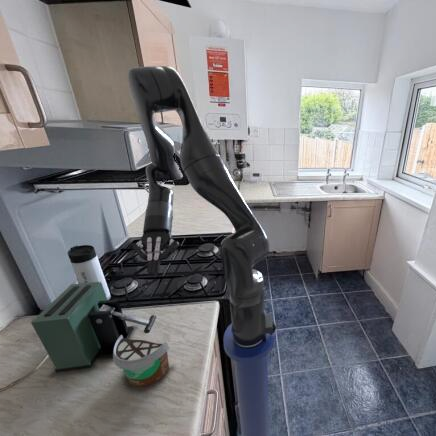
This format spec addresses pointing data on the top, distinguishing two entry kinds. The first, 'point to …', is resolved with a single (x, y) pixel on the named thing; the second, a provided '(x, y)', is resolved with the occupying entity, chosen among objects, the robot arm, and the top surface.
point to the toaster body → (71, 327)
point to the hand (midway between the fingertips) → (152, 274)
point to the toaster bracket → (108, 328)
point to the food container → (141, 360)
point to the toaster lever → (130, 318)
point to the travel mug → (87, 266)
